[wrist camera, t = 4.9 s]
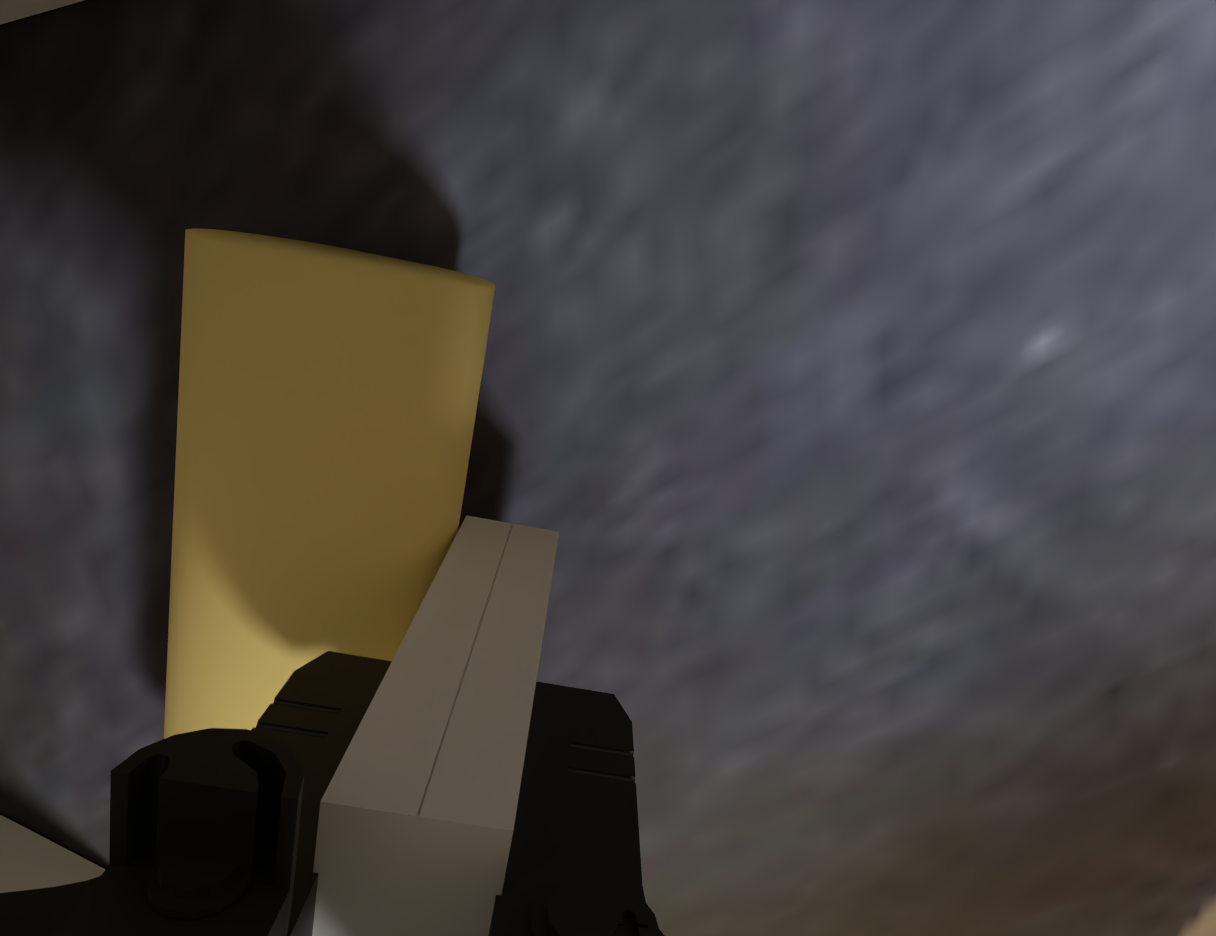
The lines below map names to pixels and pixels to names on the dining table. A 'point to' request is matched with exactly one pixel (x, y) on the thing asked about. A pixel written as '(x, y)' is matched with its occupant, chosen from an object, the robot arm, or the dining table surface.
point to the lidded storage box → (3, 847)
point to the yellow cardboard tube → (310, 460)
